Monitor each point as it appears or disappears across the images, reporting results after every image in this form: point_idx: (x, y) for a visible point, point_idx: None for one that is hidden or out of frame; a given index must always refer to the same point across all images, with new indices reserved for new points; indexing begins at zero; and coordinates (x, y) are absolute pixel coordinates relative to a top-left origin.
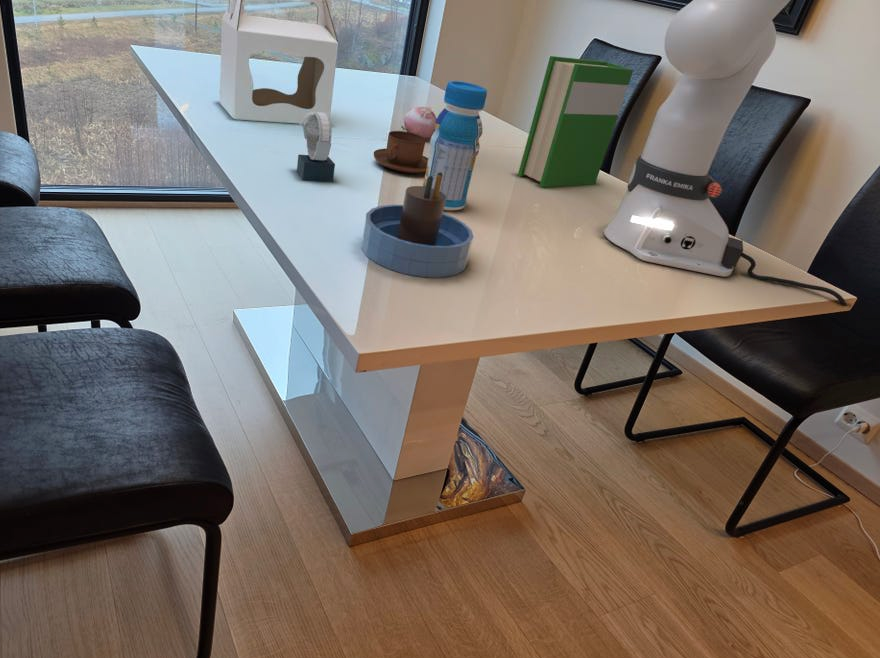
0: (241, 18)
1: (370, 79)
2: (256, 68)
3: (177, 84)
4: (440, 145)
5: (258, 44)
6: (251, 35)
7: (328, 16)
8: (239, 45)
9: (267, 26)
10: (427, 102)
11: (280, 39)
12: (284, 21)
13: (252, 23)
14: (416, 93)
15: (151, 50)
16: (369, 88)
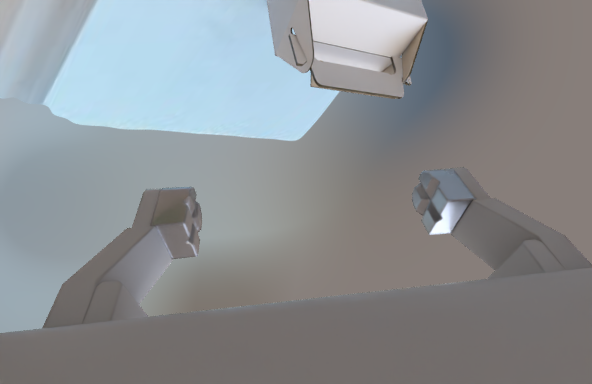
0: (401, 47)
1: (89, 104)
2: (226, 115)
3: None
4: None
5: (403, 2)
6: (413, 12)
7: (308, 34)
8: (421, 5)
9: (384, 29)
10: (12, 19)
11: (383, 2)
12: (351, 44)
13: (397, 36)
14: (24, 60)
15: (293, 137)
16: (108, 73)
